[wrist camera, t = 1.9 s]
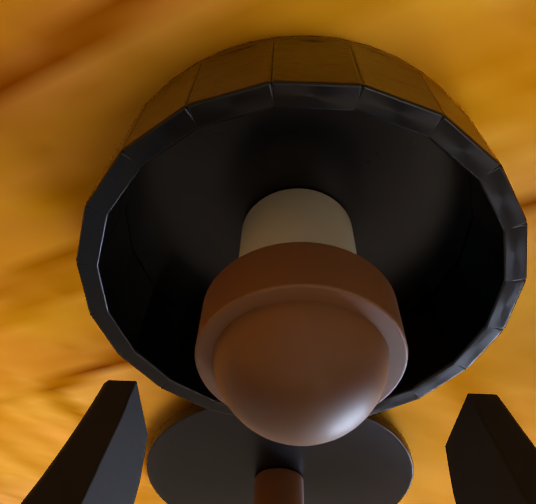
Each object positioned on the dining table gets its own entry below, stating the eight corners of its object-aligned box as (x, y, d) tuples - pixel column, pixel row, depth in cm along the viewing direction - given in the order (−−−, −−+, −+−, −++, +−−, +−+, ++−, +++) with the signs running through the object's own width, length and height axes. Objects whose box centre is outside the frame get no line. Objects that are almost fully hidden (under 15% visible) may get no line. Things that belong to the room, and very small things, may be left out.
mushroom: (390, 167, 15) (451, 356, 10) (364, 296, 18) (399, 494, 13) (214, 160, 15) (172, 344, 10) (219, 290, 18) (190, 486, 13)
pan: (544, 43, 13) (611, 93, 11) (437, 354, 21) (460, 430, 18) (78, 26, 13) (24, 72, 11) (138, 342, 21) (116, 416, 18)
